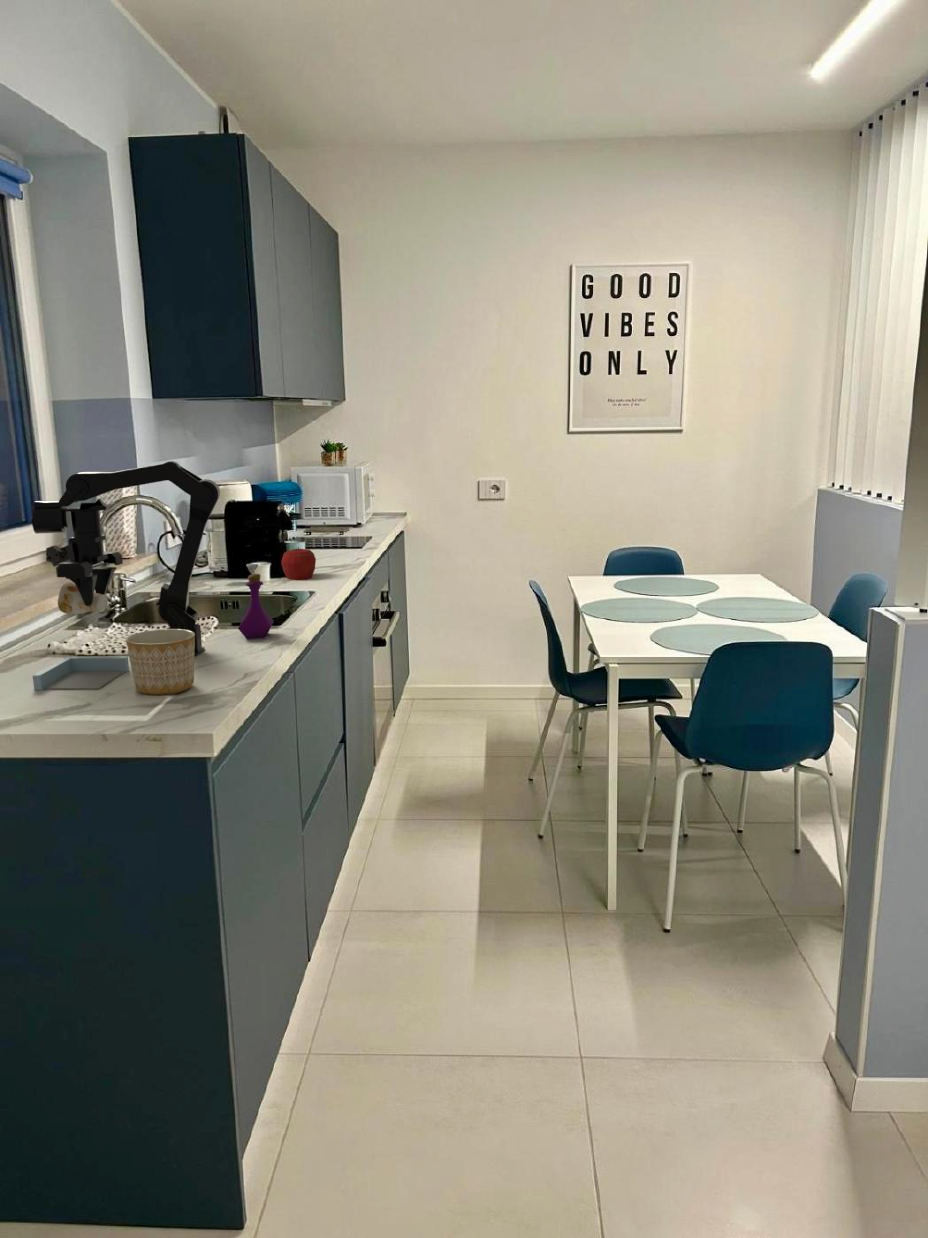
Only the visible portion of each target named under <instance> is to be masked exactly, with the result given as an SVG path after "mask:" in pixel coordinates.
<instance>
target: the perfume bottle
mask: <svg viewBox="0 0 928 1238" xmlns="http://www.w3.org/2000/svg"><path fill="white" fill-rule="evenodd" d="M246 567H247V570H248V571H249V573H250V574H249V575H248V576H247V579H248V581H247V582H246V583H245V585H246V586H247V587H248V589H249V590H250V599H249V600H250V602H249V606H248V609H247V611H246V613H245V615H244V617H243V618H242V620H241V622H240V624H239V625H238V629H237V630H239V631H240V633H241V634H242V636H243V638H245V639H246V640H254V639H256V640H257V639H266V638H267V636H268V634H269V632H270V630H271V628H272V627H273V624H274V619H272V618H271V616H269V615H268V614H267V612H266V611H265V610H264V608H263V607H262V604H261V601H260V588H261V586H263V585H264V582H263V581H261V574H260V573H255V571H256V570H257V568H258V567H259V564H257V563H247V564H246Z"/></svg>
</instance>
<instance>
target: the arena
mask: <svg viewBox="0 0 928 1238" xmlns="http://www.w3.org/2000/svg"><path fill="white" fill-rule="evenodd" d="M74 671H124V673H127V672H129V671H130V667H129V657H128V656H65V657H63V658H62V659H60V660H58V661H56V662H53V664H51V665H49V666H47V667H45V668H43V669H41V670H40V671H38V672H36V673H35V674H33V675H32V683H33V690H34V691H43V690H46V687H48V686H50V685H52V684H53V683H55V682H57V681H58V680H60V679H62V678H63V677H65V676H67V675H68V674H70V673H72V672H74Z"/></svg>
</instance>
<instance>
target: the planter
mask: <svg viewBox="0 0 928 1238" xmlns="http://www.w3.org/2000/svg"><path fill="white" fill-rule="evenodd" d="M126 646H127V647H126V648H127V652H128V656H129V657H128V658H129V662H130V666H131V667H130V668H131V673H132V677H133V679H132V680H133V682H134V684H133V685H134V687H135V689H136V690H137V691H138V692H139V693H140V694H144V695H150V696H159V695H161V696H162V695H163V696H164V695H170V694H171V695H172V694H178V693H181V692H184V691H186V690H188V689H190V688H191V687H192V686H193V684H194V682H195V656H194V650H195V633H194V632H192V631H189V630H183V629H168V628H165V629H164V628H163V629H162V628H161V629H153V630H144V631H141V632H136V633H133V634H131V635H129V636H127V637H126Z"/></svg>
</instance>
